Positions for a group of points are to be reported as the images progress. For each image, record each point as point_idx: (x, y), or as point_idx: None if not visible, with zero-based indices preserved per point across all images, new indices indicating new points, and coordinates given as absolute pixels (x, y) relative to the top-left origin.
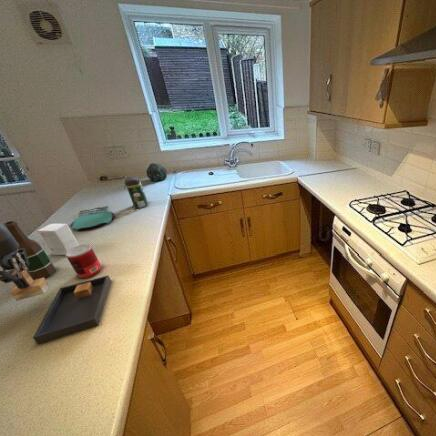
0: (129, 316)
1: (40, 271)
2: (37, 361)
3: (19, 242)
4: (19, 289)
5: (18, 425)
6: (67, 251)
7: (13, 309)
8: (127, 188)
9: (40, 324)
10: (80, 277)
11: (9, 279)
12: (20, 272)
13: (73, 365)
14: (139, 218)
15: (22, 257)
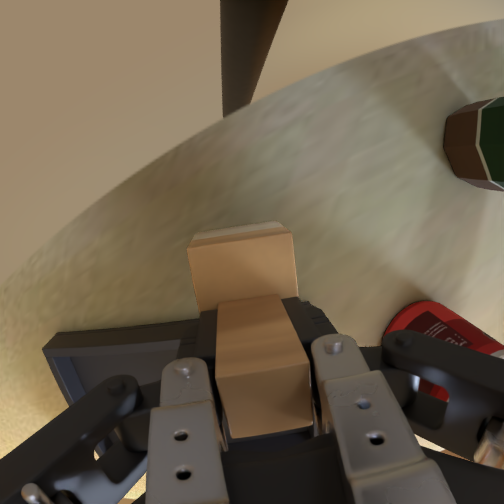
0: (136, 488)
1: (474, 160)
2: (18, 352)
3: None
4: (206, 300)
5: None
6: None
7: (274, 120)
8: None
9: (89, 348)
10: (394, 320)
11: (116, 430)
12: (263, 421)
13: (21, 419)
14: None
15: (455, 438)
